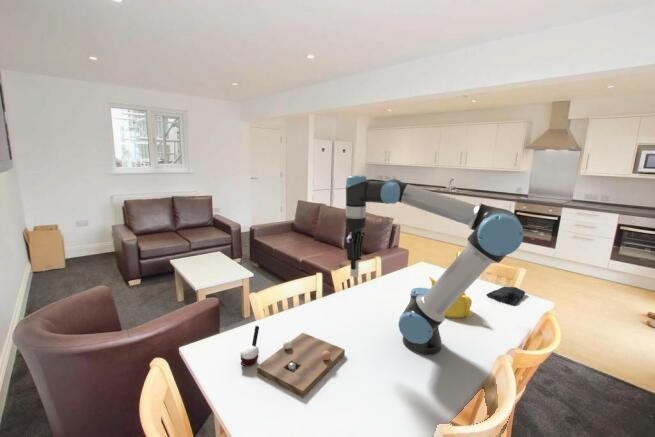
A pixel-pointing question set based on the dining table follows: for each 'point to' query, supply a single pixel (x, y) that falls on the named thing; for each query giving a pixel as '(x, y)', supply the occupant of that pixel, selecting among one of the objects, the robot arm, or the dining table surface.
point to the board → (300, 364)
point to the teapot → (458, 306)
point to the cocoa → (250, 351)
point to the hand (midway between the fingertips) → (354, 276)
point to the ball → (292, 367)
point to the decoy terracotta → (326, 355)
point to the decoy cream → (287, 344)
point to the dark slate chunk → (507, 295)
